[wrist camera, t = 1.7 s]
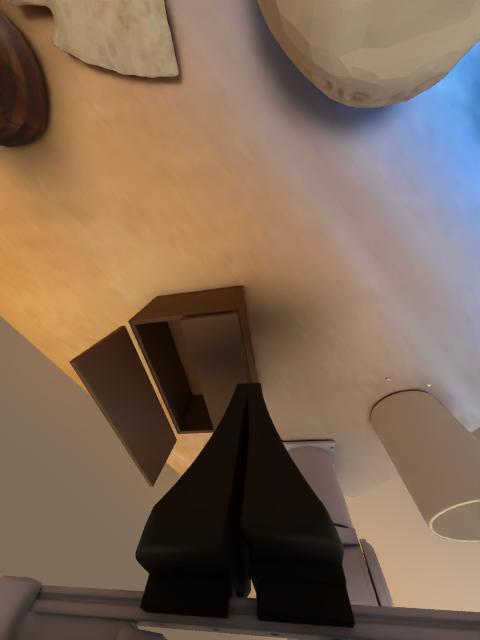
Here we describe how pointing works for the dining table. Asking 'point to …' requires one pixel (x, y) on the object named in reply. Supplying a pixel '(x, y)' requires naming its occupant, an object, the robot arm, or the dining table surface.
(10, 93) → the mortar and pestle
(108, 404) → the flap
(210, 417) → the carton
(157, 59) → the arrowhead
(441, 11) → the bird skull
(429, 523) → the mug
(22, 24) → the dining table surface
